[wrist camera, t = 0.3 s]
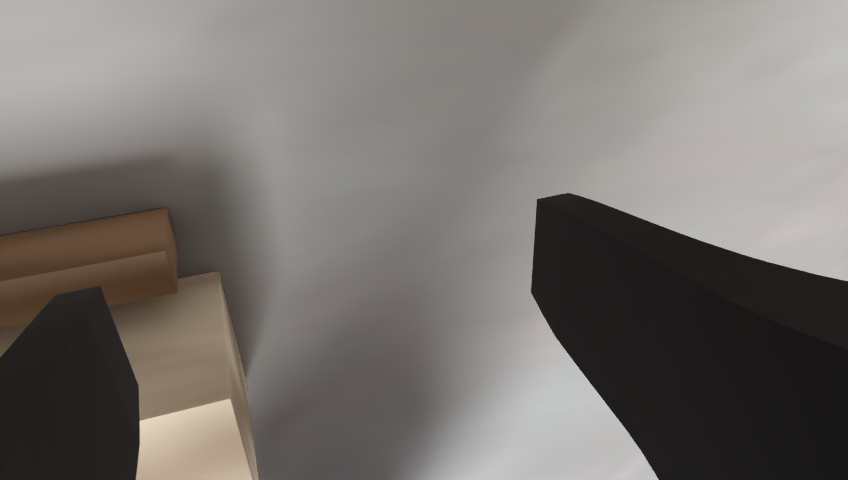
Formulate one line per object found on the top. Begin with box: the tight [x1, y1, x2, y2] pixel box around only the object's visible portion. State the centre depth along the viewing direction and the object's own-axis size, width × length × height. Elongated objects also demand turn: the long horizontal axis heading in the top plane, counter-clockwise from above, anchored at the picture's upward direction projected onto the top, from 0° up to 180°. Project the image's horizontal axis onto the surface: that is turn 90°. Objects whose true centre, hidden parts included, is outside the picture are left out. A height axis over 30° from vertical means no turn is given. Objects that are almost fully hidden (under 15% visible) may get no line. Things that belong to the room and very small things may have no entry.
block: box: [0, 271, 258, 480], centre depth 19 cm, size 5×8×6 cm, turn 91°
